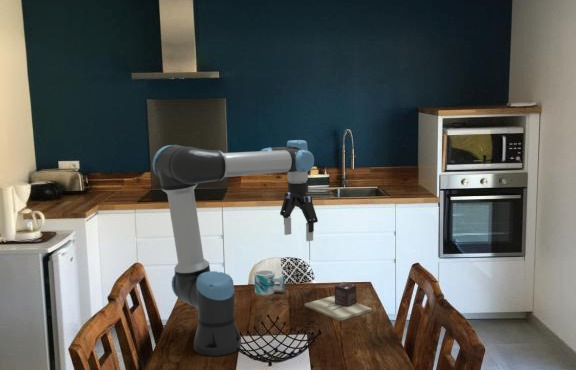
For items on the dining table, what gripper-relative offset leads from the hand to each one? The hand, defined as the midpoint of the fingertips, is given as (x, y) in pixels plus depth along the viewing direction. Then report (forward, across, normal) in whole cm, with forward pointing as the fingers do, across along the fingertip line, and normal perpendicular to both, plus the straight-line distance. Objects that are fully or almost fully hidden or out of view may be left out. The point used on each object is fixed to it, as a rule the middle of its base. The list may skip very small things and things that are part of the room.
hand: (298, 237), depth 226 cm
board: (+27, -12, -9) cm, 30 cm away
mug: (+27, +20, 0) cm, 34 cm away
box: (+26, -12, -13) cm, 31 cm away
